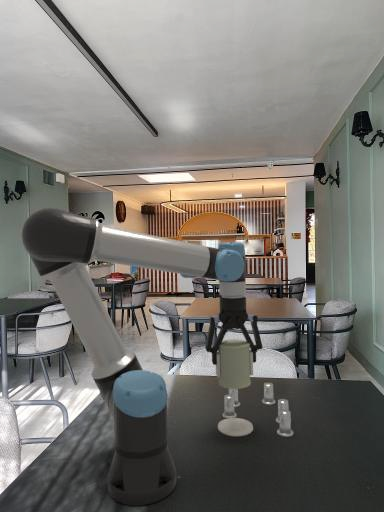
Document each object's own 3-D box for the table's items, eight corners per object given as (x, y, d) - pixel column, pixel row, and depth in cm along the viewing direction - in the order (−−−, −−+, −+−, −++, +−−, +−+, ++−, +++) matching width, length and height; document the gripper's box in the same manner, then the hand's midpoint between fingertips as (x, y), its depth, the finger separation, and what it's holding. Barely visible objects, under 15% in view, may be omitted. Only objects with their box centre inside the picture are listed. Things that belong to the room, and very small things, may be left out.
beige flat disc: (257, 435, 104) (257, 432, 104) (221, 437, 103) (221, 435, 103) (247, 418, 114) (247, 416, 114) (215, 421, 113) (215, 419, 113)
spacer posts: (302, 435, 103) (302, 413, 103) (233, 441, 101) (232, 418, 101) (273, 398, 128) (272, 381, 128) (216, 402, 126) (216, 384, 126)
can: (218, 377, 113) (218, 337, 113) (249, 377, 112) (249, 337, 112) (218, 388, 104) (217, 345, 104) (251, 389, 103) (250, 345, 103)
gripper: (265, 293, 113) (267, 368, 113) (193, 295, 110) (195, 372, 111) (273, 296, 105) (275, 376, 106) (196, 299, 103) (198, 381, 103)
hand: (234, 374), depth 108 cm, fingers closed on can, 9 cm apart
